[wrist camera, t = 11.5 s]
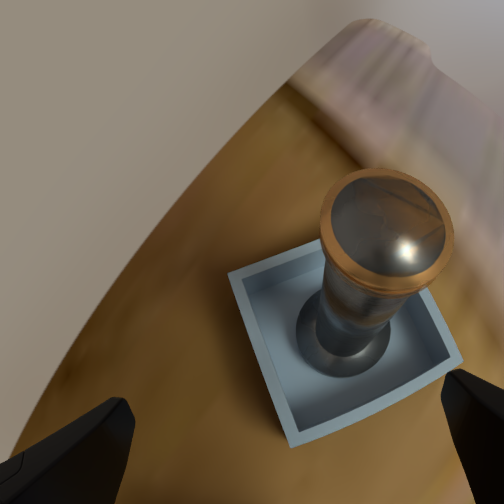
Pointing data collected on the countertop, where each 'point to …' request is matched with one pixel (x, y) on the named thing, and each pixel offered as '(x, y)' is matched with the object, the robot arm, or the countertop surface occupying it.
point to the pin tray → (314, 383)
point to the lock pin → (370, 266)
